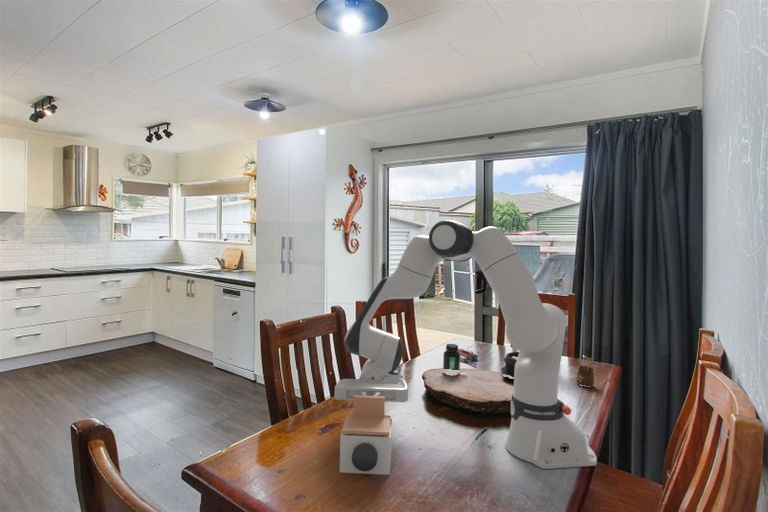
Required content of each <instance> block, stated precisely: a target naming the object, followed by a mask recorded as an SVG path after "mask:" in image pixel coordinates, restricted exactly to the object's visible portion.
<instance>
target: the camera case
mask: <svg viewBox="0 0 768 512" xmlns="http://www.w3.org/2000/svg"><path fill="white" fill-rule="evenodd" d="M345 420H346V418H345ZM345 420H344V421H345ZM344 424H345V422H344V423H343V426H342V429H341V431H340V438H339V439H340V440H339V473H342V474H343V473H344V474H361V475H362V474H366V475H367V474H368V475H384V476H385V475H386V476H390V475H391V462H392V441H393V440H392V437H393V435H392V431H393V419H392V418H390V432H389V436H383V435H361V434H342V430H343V427H344Z"/></svg>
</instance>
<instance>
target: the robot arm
mask: <svg viewBox="0 0 768 512" xmlns="http://www.w3.org/2000/svg"><path fill="white" fill-rule="evenodd" d="M470 259H473V260H474V261H475V262H476V263H477V265H478V266H479V268H480V270H481V272H482V273H483V275H484V278H486V281H487V282H488V284H489V287H490V288H491V289H492V290H491V291H493V293H494V295H495V297H496V299H497V302H498V305H499V307H500V310H501V313H502V317H503V320H504V323H505V335H506V339H507V340H508V343H509V344H510V345H511V347H512V348H514V349H515V350H517V351H518V352H519V355H518V358H517V361H516V364H515V370H514V380H513V393H512V394H511V402H510V415H511V419H510V425H509V431H508V434H507V437H506V440H505V444H504V446H505V448H506V450H507V451H508V452H509V453H510V454H511V455H512V456H515V457H516V458H518V459H520V460H524V461H525V462H529V463H531V464H533V465H535V466H536V467H538V468H541V469H543V470H549V469H550V470H551V469H563V468H577V467H581V468H582V467H594V466H597V463H598V458H597V455H596V453H595V452H594V450H593V449H592V448H591V447H590V446H589V445H588V442H587V438H586V435H585V433H584V432H583V430H582V429H581V428H580V427H579V426H578V425H577V424H576V423H575V422H574V421H573V420H572V419H571V418H569V417H568V416H570V415H571V414H572V409H571V408H570V407H569V406H568V405H567V404H565V402H563V401H562V400H561V399H559V398H558V393H559V392H558V391H559V373H560V366H561V361H562V360H561V359H562V355H563V351H564V350H563V348H564V341H565V334H566V329H567V317H566V315H565V313H564V312H563V310H562V309H561V308H559V307H558V306H557V305H554V304H551V303H549V302H547V303H545V302H542V300H541V299H540V296H539V294H538V291H537V287H536V285H535V279H534V276H533V275H532V273H531V272H530V270H529V268H528V267H527V265H526V264H525V261H524V260H523V258H522V257H521V255H520V253H519V252H518V250H517V249H516V247H515V246H514V244H513V243H512V242H511V240H510V239H509V237H507V235H506V234H505V233H504V232H503V230H501V229H500V228H498V227H496V226H487V227H484V228H481V229H480V230H477V231H473V230H472V229H471V228H469V227H468V226H466V225H465V224H463V223H460V222H458V221H456V220H452V219H445V220H441V221H440V220H439V222H437V223H435V224H434V225H433V226H432V228H431V229H430V232H429V235H423V234H421V235H416V236H414V237H413V238H411V240H410V241H409V242H408V244H407V246H406V248H405V249H404V252H403V253H402V256H401V258H400V260H399V263H398V264H397V268H396V269H395V270H394V271H393V273H392V274H391V275H389V276H384V277H383V278H382V279H381V280H380V281H379V282H378V284H377V285H376V287H375V288H374V290H373V291H372V293H371V294H370V296H369V298H368V300H367V301H366V303H365V305H364V306H363V308H362V309H361V311H360V313H359V314H358V317H357V318H356V320H355V321H354V322H353V324H351V325H350V327H349V329H348V330H347V331H346V333H345V336H344V341H343V343H344V345H345V348H346V349H347V352H348V353H349V354H352V355H355V356H359V357H363V358H365V359H367V360H366V361H365V363H364V364H363V366H362V369H361V372H360V375H359V378H342V379H340V380H339V381H338V382H337V383H336V384H335V386H334V398H335V400H339V401H353V397H354V395H360V396H385V403H386V402H389V403H390V402H391V403H392V402H393V403H407V402H409V401H408V400H409V387H408V384H407V383H408V382H407V381H406V380H405V379H404V375H403V373H402V372H401V373H400V372H397V370H398V368H399V366H400V364H401V362H402V359H403V355H404V348H405V346H404V342H403V340H402V338H401V337H400V336H398V335H395V334H393V333H391V332H389V331H388V332H387V331H385V330H382V329H380V328H377V327H374V326H372V325H370V322H371V320H372V318H373V317H374V315H376V314H375V313H376V312H377V310H378V309H379V307H380V305H381V304H382V303H384V302H385V301H389V300H398V299H399V300H409V299H415V298H418V297H421V296H423V294H425V293H426V292H427V290H428V288H429V286H430V284H431V282H432V279H433V277H434V274H435V272H436V269H437V267H438V265H439V264H440V263H441V262H443V261H446V262H447V261H449V262H457V263H458V262H459V263H460V262H466V261H468V260H470Z"/></svg>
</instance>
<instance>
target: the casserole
mask: <svg viewBox="0 0 768 512" xmlns="http://www.w3.org/2000/svg"><path fill="white" fill-rule="evenodd" d="M518 355H519V351H512V352H508V353H506V355H505V357H504V358H503V361H504V363H505V366H502V367H501V375H502V374H506V375H510V376H512V377H514V370H515V364H516V361H517V358H518Z"/></svg>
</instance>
